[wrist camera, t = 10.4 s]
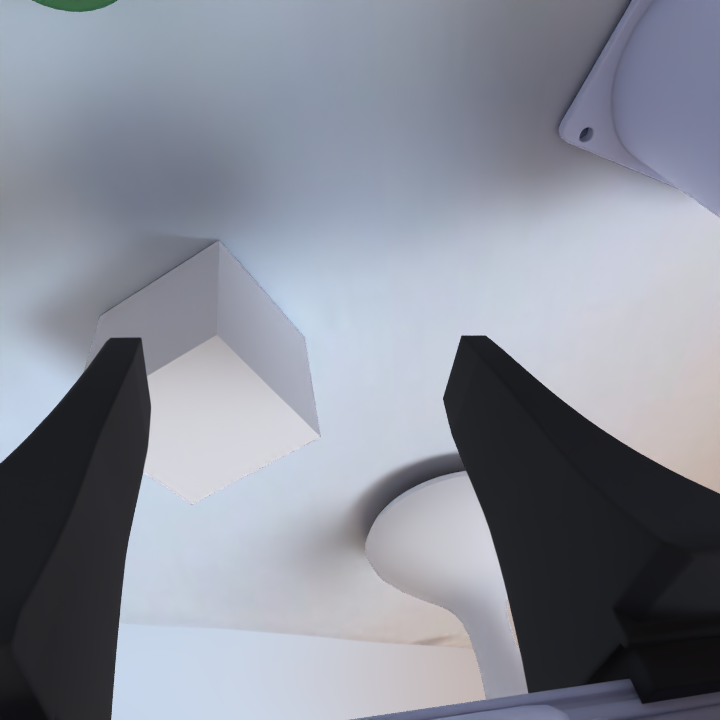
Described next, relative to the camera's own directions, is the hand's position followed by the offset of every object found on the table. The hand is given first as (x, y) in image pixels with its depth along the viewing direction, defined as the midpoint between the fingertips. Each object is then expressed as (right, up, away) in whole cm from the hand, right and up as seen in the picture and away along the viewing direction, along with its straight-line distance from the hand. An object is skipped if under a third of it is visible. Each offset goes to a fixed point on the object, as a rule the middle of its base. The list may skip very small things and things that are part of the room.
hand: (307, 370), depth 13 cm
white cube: (-5, +2, +11) cm, 13 cm away
